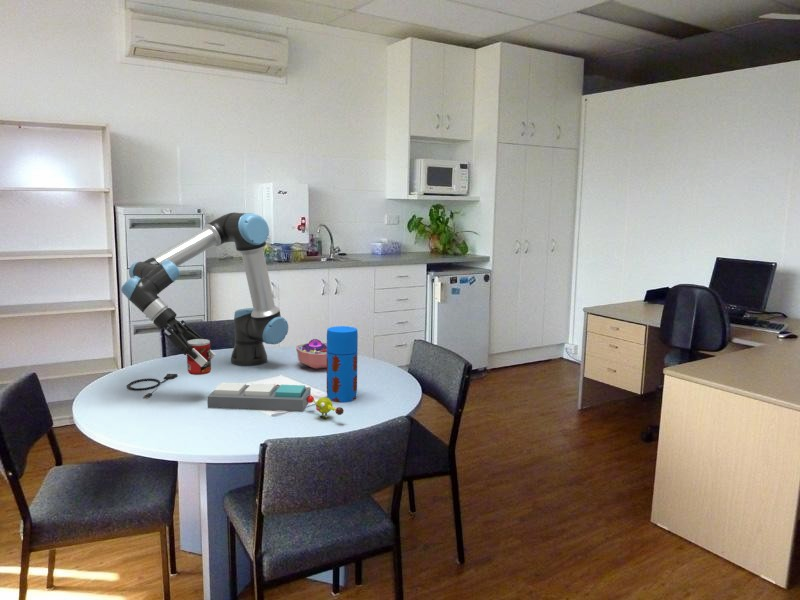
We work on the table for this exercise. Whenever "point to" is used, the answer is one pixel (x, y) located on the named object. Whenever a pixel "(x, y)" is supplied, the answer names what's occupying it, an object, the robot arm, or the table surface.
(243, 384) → the key near
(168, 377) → the cable
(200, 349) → the canned food
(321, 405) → the toy figure
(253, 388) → the key middle
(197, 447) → the table surface
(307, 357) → the cell model
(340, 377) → the thermos
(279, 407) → the keypad frame
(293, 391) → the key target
